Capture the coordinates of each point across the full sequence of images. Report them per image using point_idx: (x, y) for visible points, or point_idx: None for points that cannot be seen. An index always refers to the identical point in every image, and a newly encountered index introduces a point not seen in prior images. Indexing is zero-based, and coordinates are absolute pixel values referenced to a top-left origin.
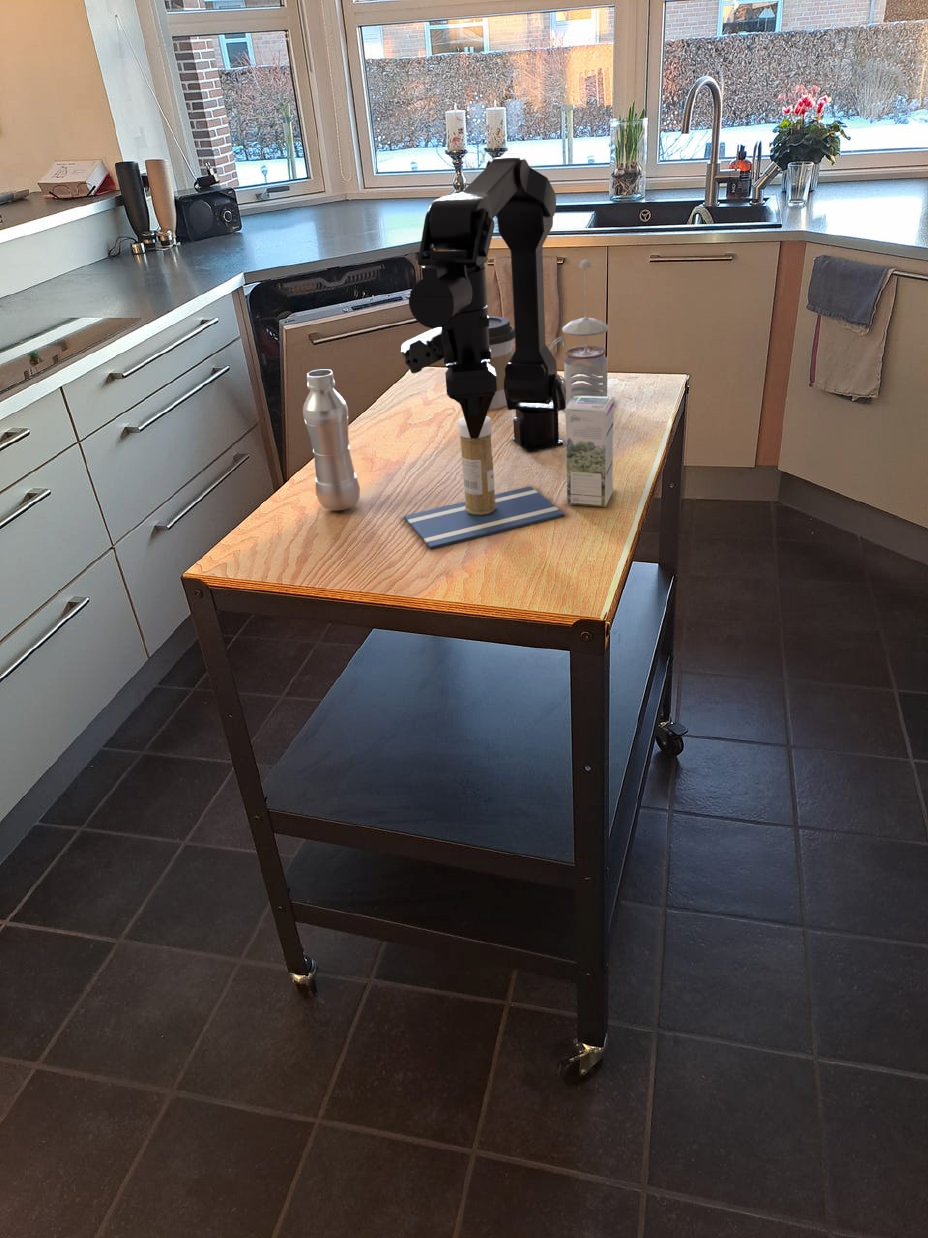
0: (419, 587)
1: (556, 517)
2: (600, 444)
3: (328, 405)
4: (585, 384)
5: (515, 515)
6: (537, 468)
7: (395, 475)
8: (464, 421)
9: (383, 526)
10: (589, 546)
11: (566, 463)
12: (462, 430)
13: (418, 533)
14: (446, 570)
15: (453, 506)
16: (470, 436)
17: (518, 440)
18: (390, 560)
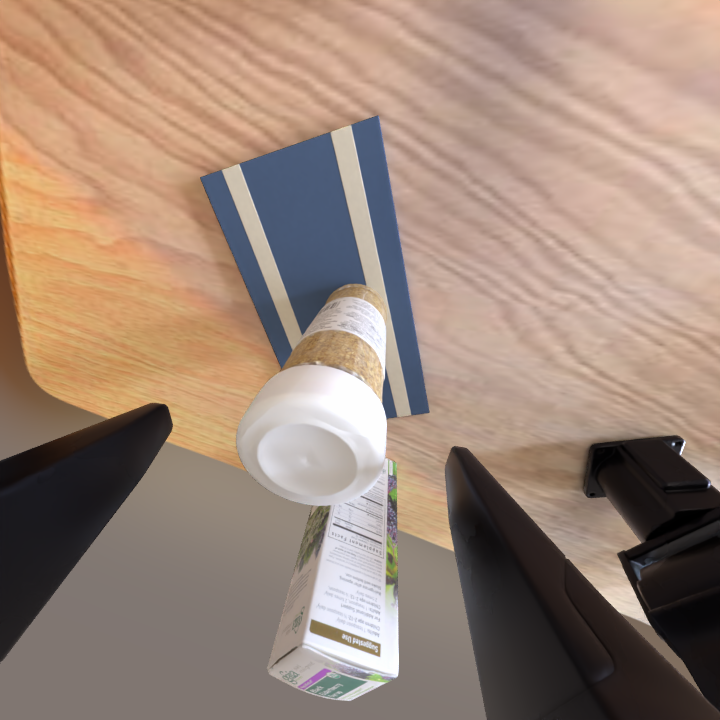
0: (37, 130)
1: None
2: (294, 574)
3: None
4: None
5: None
6: (510, 438)
7: (711, 107)
8: (285, 424)
9: (346, 37)
10: (210, 427)
11: None
12: (265, 389)
13: (272, 152)
14: (116, 203)
15: (391, 260)
16: (143, 406)
17: (641, 447)
18: (147, 54)
